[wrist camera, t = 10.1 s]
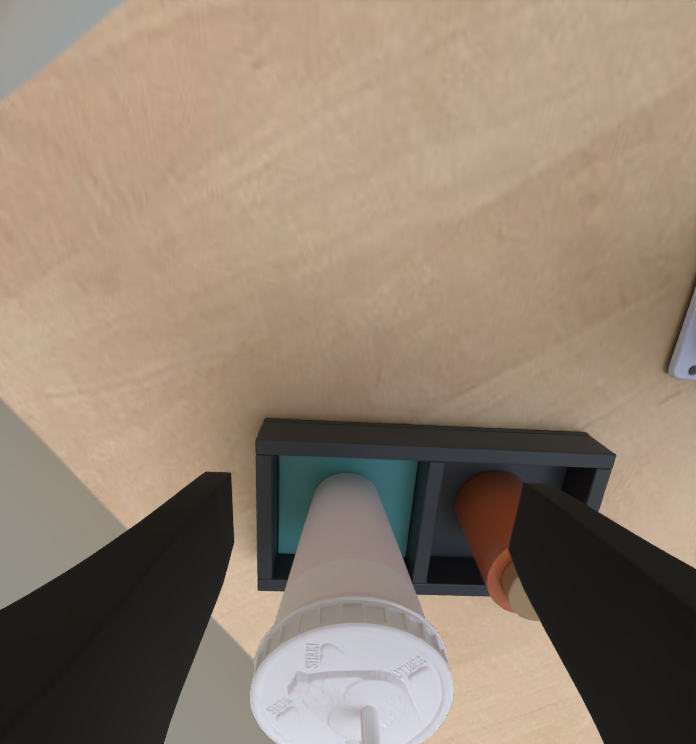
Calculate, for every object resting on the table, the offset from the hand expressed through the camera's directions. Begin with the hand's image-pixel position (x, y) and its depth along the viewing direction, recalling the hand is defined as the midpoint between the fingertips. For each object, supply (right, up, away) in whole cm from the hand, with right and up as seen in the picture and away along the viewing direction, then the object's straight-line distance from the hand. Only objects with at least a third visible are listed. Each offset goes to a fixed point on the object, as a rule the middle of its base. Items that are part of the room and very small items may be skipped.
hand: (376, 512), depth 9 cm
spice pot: (+7, -4, +12) cm, 15 cm away
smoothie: (-1, -4, +12) cm, 12 cm away
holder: (+3, -4, +12) cm, 13 cm away
